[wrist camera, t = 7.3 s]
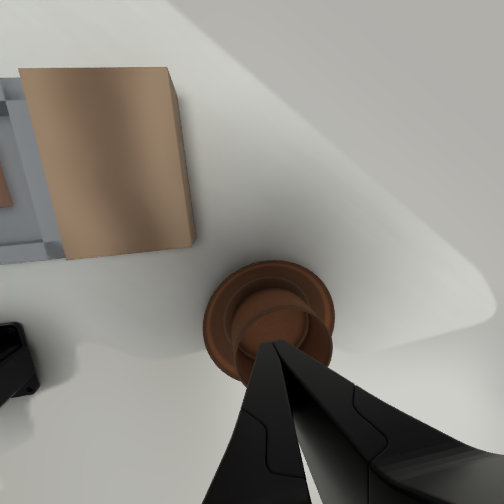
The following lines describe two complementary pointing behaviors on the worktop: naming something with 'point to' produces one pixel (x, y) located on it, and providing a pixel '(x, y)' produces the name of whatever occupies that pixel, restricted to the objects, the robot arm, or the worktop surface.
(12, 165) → the box
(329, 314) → the cup and saucer
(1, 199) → the tile
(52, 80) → the tan wooden board
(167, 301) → the worktop surface
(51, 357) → the worktop surface
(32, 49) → the worktop surface
